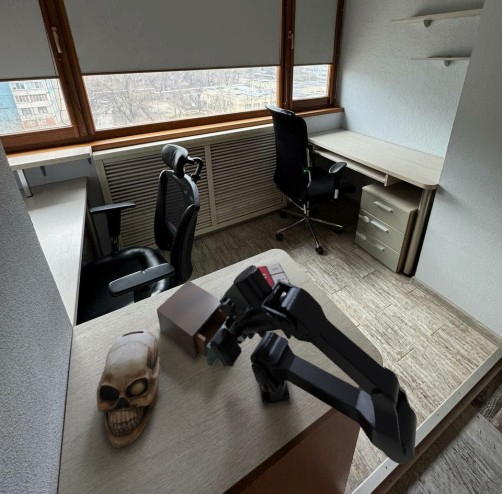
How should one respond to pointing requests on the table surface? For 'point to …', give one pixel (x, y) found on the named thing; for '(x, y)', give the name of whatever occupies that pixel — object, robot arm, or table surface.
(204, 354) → the drawer
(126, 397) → the coin bank
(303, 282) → the table surface
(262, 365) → the robot arm
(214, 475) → the table surface
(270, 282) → the calculator
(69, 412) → the table surface
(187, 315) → the cabinet
